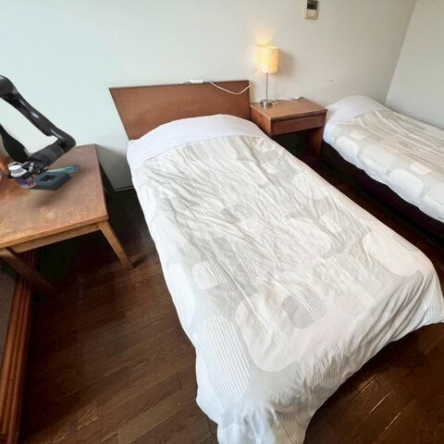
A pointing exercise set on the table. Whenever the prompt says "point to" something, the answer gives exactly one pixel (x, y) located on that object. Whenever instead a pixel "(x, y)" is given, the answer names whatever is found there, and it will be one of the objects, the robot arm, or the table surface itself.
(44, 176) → the socket pad
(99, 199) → the table surface
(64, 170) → the smartphone
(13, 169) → the pill bottle
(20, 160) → the wine bottle
